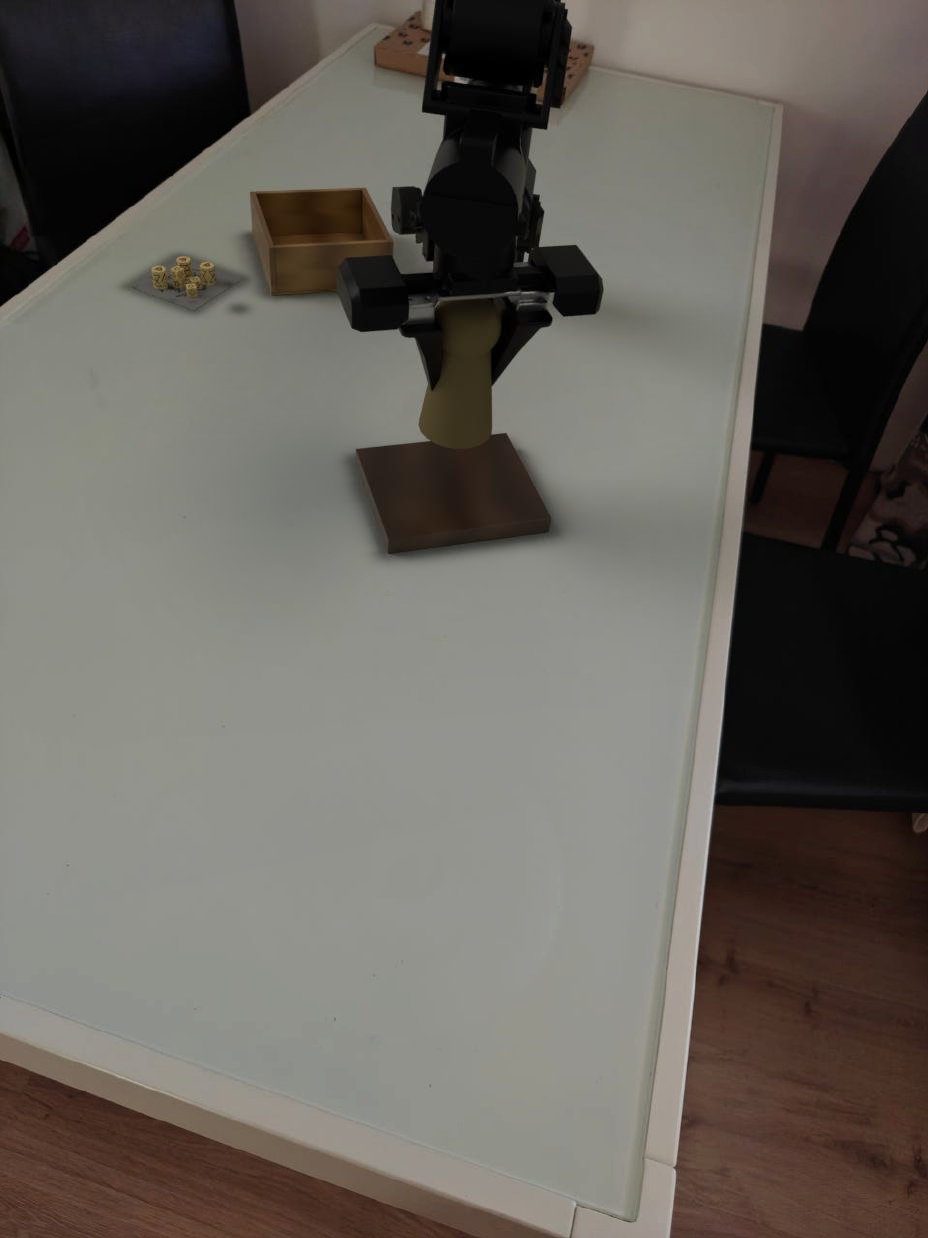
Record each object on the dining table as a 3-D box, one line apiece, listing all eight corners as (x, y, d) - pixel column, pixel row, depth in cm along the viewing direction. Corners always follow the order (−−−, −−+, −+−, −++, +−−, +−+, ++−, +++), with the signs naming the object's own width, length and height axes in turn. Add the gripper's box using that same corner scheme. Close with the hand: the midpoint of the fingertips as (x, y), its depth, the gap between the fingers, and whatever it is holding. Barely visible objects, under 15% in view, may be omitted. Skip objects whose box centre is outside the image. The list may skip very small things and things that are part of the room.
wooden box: (364, 231, 118) (365, 186, 114) (391, 287, 109) (393, 241, 105) (252, 236, 114) (249, 191, 110) (271, 295, 106) (268, 247, 102)
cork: (416, 403, 82) (425, 279, 74) (488, 405, 83) (505, 283, 75) (420, 447, 78) (430, 322, 70) (496, 449, 79) (514, 326, 71)
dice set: (150, 286, 105) (148, 269, 103) (181, 267, 108) (179, 250, 107) (189, 301, 103) (187, 284, 102) (219, 281, 107) (218, 264, 105)
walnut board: (504, 445, 91) (506, 432, 90) (549, 531, 84) (551, 518, 83) (355, 462, 88) (355, 448, 87) (387, 553, 80) (388, 539, 79)
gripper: (567, 135, 74) (537, 323, 85) (320, 141, 69) (322, 339, 81) (626, 203, 67) (584, 397, 78) (354, 215, 62) (352, 421, 74)
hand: (460, 386), depth 78 cm, fingers closed on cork, 4 cm apart
